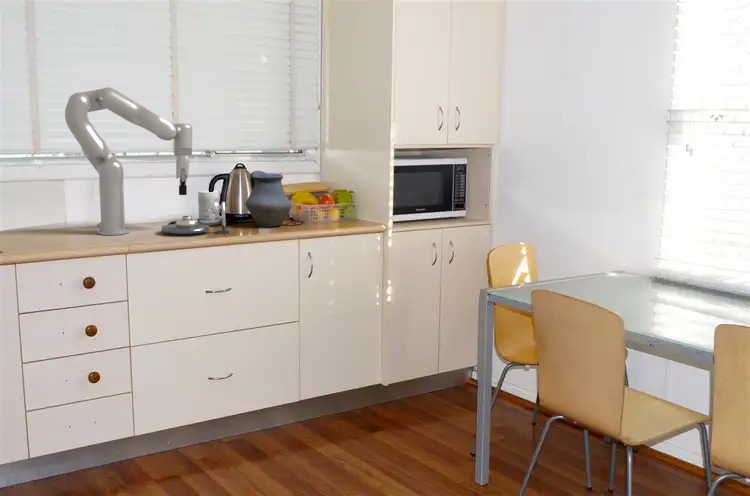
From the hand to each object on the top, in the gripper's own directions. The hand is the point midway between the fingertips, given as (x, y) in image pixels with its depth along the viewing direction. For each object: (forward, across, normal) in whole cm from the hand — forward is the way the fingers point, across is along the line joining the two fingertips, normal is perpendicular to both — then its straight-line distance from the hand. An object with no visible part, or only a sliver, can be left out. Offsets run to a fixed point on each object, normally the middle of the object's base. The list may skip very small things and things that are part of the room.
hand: (182, 194), depth 332 cm
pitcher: (+14, -7, +38) cm, 41 cm away
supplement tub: (+15, -22, +13) cm, 30 cm away
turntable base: (+15, +9, +1) cm, 18 cm away
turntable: (+14, +9, +1) cm, 17 cm away
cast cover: (+13, +10, +2) cm, 16 cm away
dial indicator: (+15, +11, +16) cm, 25 cm away
